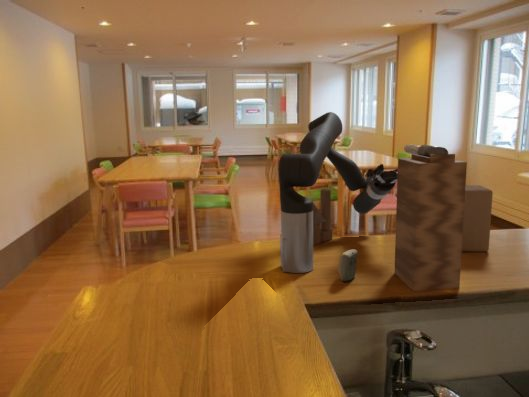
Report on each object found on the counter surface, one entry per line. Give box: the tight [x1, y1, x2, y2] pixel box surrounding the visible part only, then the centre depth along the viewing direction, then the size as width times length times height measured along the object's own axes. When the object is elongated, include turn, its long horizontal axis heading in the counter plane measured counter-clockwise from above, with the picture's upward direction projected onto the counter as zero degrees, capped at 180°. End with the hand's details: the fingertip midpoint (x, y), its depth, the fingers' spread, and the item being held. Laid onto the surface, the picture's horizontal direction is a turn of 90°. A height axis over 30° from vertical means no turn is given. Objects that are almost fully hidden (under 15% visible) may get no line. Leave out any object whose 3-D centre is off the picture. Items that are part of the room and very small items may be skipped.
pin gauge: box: [403, 143, 449, 157], centre depth 119 cm, size 4×21×4 cm, turn 4°
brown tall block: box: [394, 153, 468, 292], centre depth 117 cm, size 12×13×34 cm
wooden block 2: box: [462, 185, 493, 253], centre depth 146 cm, size 10×10×20 cm
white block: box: [337, 248, 359, 283], centre depth 122 cm, size 6×5×8 cm
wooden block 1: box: [313, 188, 333, 246], centre depth 158 cm, size 4×11×18 cm, turn 137°
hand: (396, 166), depth 138 cm, fingers open, 8 cm apart
